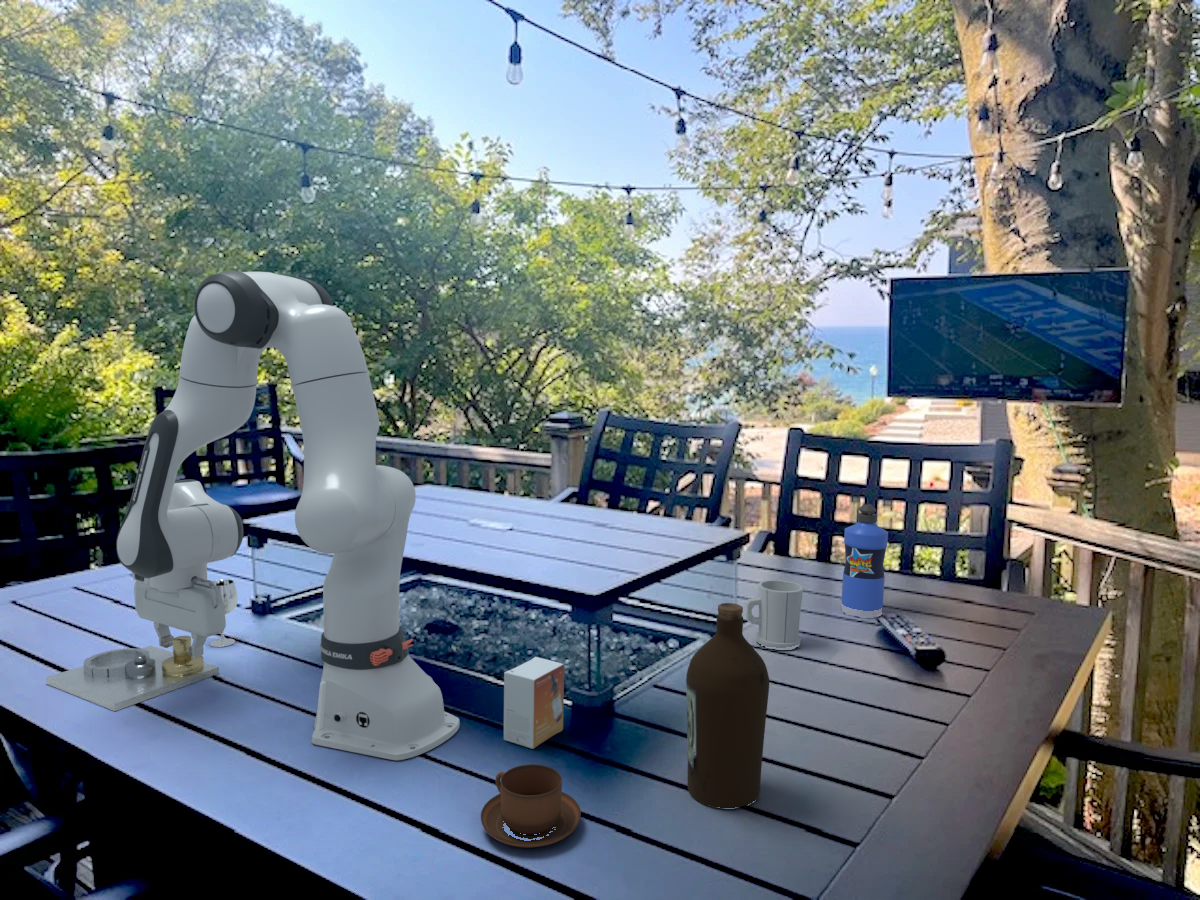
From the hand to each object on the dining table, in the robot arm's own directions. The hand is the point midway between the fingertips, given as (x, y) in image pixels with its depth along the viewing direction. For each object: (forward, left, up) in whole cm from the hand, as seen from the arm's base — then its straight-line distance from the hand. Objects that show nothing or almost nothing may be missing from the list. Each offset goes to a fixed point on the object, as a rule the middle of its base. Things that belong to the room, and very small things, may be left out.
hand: (181, 651), depth 139 cm
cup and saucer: (-77, +6, -5) cm, 78 cm away
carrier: (+6, +5, -5) cm, 9 cm away
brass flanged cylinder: (0, 0, -3) cm, 3 cm away
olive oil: (-94, -14, -5) cm, 95 cm away
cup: (-83, -72, -5) cm, 110 cm away
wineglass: (+9, -14, -5) cm, 17 cm away
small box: (-64, -14, -5) cm, 66 cm away
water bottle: (-94, -104, -5) cm, 140 cm away
